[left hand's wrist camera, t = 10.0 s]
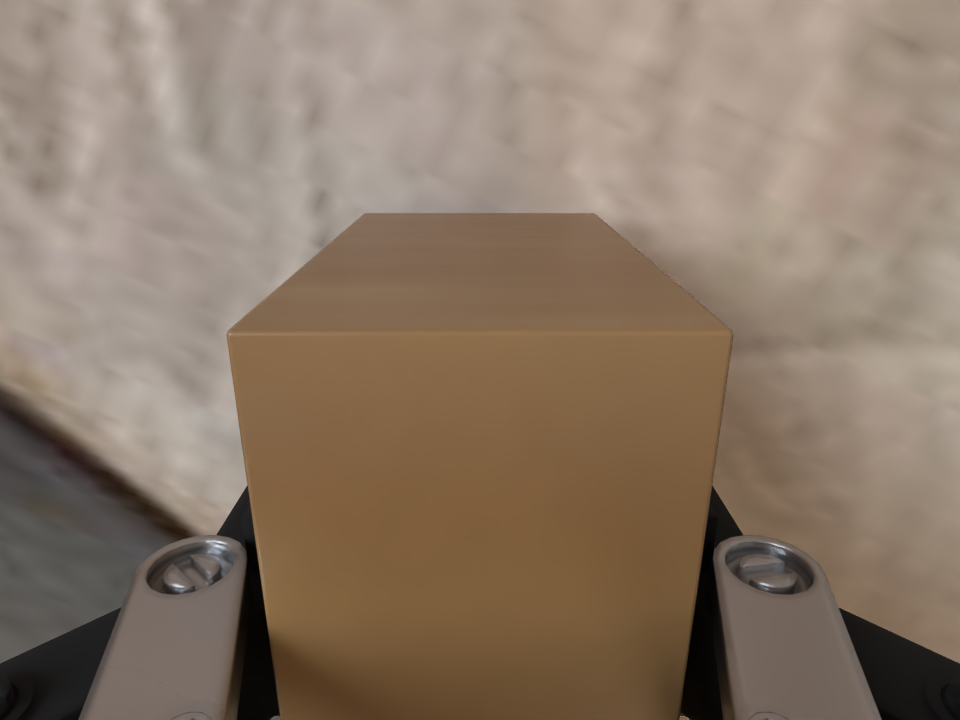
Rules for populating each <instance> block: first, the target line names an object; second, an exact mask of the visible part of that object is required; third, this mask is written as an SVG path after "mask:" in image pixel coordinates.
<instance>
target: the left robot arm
mask: <svg viewBox="0 0 960 720" xmlns="http://www.w3.org/2000/svg"><path fill="white" fill-rule="evenodd" d="M273 716H280V712H279V705H278V698H277V690H276V683H275V676H274V669H273V662H272V655H271V648H270V641H269V633H268V626H267V619H266V612H265V605H264V598H263V591H262V584H261V576H260V569H259V562H258V555H257V548H256V541H255V534H254V527H253V519H252V512H251V505H250V498H249V491H248V485H247V487H246V489H245V490H244V492H243V493H242V495H241V497H240V498H239V500H238V501H237V503H236V505H235V506H234V508H233V509H232V511H231V513H230V514H229V516H228V517H227V519H226V521H225V522H224V524H223V525H222V527H221V529H220V530H219V532H218V533H217V535H207V536H197V537H192V538H187V539H183V540H180V541H177V542H175V543H172V544H169V545H167V546H165V547H163V548H162V549H160V550H158V551H156V552H155V553H153V554H152V555H150V556H149V557H148V558H147V559H146V560H145V561H144V562H143V563H141V565H140V566H139V568H138V569H137V571H136V573H135V574H134V576H133V579H132V582H131V584H130V587H129V589H128V592H127V595H126V597H125V600H124V602H123V605H122V607H121V608H119V609H117V610H115V611H113V612H111V613H108V614H106V615H104V616H102V617H100V618H98V619H95V620H93V621H91V622H89V623H87V624H85V625H83V626H80V627H78V628H76V629H74V630H72V631H70V632H67V633H65V634H63V635H61V636H59V637H57V638H55V639H52V640H50V641H48V642H46V643H44V644H42V645H39V646H37V647H35V648H33V649H31V650H29V651H27V652H24V653H22V654H20V655H18V656H16V657H14V658H11V659H9V660H7V661H5V662H3V663H1V664H0V720H271V718H272V717H273ZM680 716H686V717H688V718H689V720H960V664H959V663H957V662H955V661H952V660H950V659H948V658H946V657H944V656H942V655H940V654H937V653H935V652H933V651H931V650H929V649H927V648H924V647H922V646H920V645H918V644H916V643H914V642H912V641H909V640H907V639H905V638H903V637H901V636H899V635H896V634H894V633H892V632H890V631H888V630H886V629H884V628H881V627H879V626H877V625H875V624H873V623H871V622H868V621H866V620H864V619H862V618H860V617H858V616H856V615H853V614H851V613H849V612H847V611H845V610H843V609H840V608H838V605H837V602H836V600H835V597H834V595H833V592H832V589H831V587H830V584H829V582H828V579H827V576H826V574H825V573H824V571H823V569H822V568H821V566H820V565H819V563H817V562H816V561H815V560H814V559H813V558H812V557H811V556H810V555H808V554H807V553H805V552H804V551H802V550H800V549H798V548H797V547H795V546H793V545H791V544H788V543H785V542H783V541H780V540H777V539H773V538H768V537H763V536H753V535H743V534H742V533H741V531H740V529H739V528H738V526H737V525H736V523H735V521H734V520H733V518H732V517H731V515H730V513H729V512H728V510H727V509H726V507H725V505H724V504H723V502H722V501H721V499H720V497H719V496H718V494H717V493H716V491H715V489H714V488H713V486H712V490H711V497H710V504H709V511H708V518H707V525H706V532H705V539H704V546H703V554H702V561H701V568H700V575H699V582H698V589H697V596H696V603H695V610H694V618H693V625H692V632H691V639H690V646H689V653H688V660H687V667H686V674H685V682H684V689H683V696H682V703H681V710H680Z"/></svg>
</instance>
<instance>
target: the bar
mask: <svg viewBox="0 0 960 720" xmlns="http://www.w3.org/2000/svg"><path fill="white" fill-rule="evenodd" d="M732 340H733V333H732V330H731V329H729V328H728V327H727V326H726V325H725V324H724V323H722V322H721V321H720V320H719V319H718V318H717V317H715V316H714V315H713V314H712V313H711V312H710V311H708V310H707V309H706V308H705V307H704V306H702V305H701V304H700V303H699V302H698V301H697V300H695V299H694V298H693V297H692V296H691V295H690V294H688V293H687V292H686V291H685V290H684V289H683V288H681V287H680V286H679V285H678V284H677V283H676V282H674V281H673V280H672V279H671V278H670V277H669V276H667V275H666V274H665V273H664V272H663V271H661V270H660V269H659V268H658V267H657V266H656V265H654V264H653V263H652V262H651V261H650V260H649V259H647V258H646V257H645V256H644V255H643V254H642V253H640V252H639V251H638V250H637V249H636V248H635V247H633V246H632V245H631V244H630V243H629V242H627V241H626V240H625V239H624V238H623V237H622V236H620V235H619V234H618V233H617V232H616V231H615V230H613V229H612V228H611V227H610V226H609V225H608V224H606V223H605V222H604V221H603V220H602V219H601V218H599V217H598V216H597V215H596V214H594V213H366V214H364V215H362V216H361V217H360V218H359V219H358V220H357V221H355V222H354V223H353V224H352V225H351V226H350V227H348V228H347V229H346V230H345V231H344V232H343V233H341V234H340V235H339V236H338V237H337V238H336V239H334V240H333V241H332V242H331V243H330V244H329V245H327V246H326V247H325V248H324V249H323V250H322V251H320V252H319V253H318V254H317V255H316V256H315V257H313V258H312V259H311V260H310V261H309V262H307V263H306V264H305V265H304V266H303V267H302V268H300V269H299V270H298V271H297V272H296V273H295V274H293V275H292V276H291V277H290V278H289V279H288V280H286V281H285V282H284V283H283V284H282V285H281V286H279V287H278V288H277V289H276V290H275V291H274V292H272V293H271V294H270V295H269V296H268V297H267V298H265V299H264V300H263V301H262V302H261V303H260V304H258V305H257V306H256V307H255V308H254V309H253V310H251V311H250V312H249V313H248V314H247V315H246V316H244V317H243V318H242V319H241V320H240V321H239V322H237V323H236V324H235V325H234V326H233V327H232V328H230V329H229V330H228V332H227V341H228V348H229V356H230V363H231V370H232V377H233V384H234V391H235V398H236V405H237V413H238V420H239V427H240V434H241V441H242V448H243V455H244V462H245V470H246V477H247V484H248V491H249V498H250V505H251V512H252V519H253V527H254V534H255V541H256V548H257V555H258V562H259V569H260V576H261V584H262V591H263V598H264V605H265V612H266V619H267V626H268V633H269V641H270V648H271V655H272V662H273V669H274V676H275V683H276V690H277V698H278V705H279V712H280V719H281V720H679V717H680V710H681V703H682V696H683V689H684V682H685V674H686V667H687V660H688V653H689V646H690V639H691V632H692V625H693V618H694V610H695V603H696V596H697V589H698V582H699V575H700V568H701V561H702V554H703V546H704V539H705V532H706V525H707V518H708V511H709V504H710V497H711V490H712V482H713V475H714V468H715V461H716V454H717V447H718V440H719V433H720V426H721V418H722V411H723V404H724V397H725V390H726V383H727V376H728V369H729V362H730V354H731V347H732Z"/></svg>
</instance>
